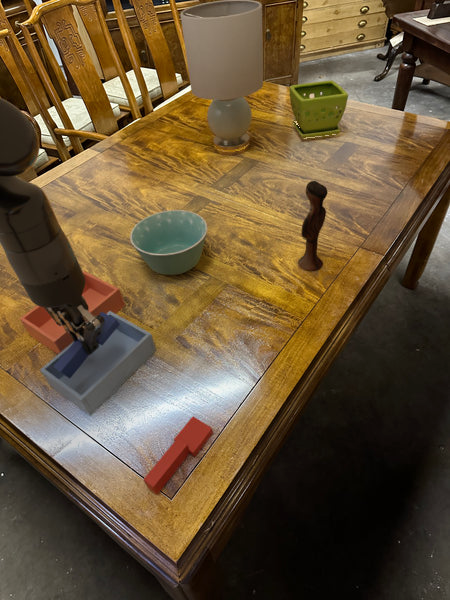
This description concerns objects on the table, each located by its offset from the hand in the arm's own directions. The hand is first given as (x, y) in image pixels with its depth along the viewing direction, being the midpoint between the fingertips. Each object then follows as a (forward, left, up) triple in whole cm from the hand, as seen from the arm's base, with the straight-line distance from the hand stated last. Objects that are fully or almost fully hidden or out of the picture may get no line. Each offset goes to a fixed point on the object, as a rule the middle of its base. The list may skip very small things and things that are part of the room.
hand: (88, 347), depth 66 cm
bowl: (+29, +8, -7) cm, 31 cm away
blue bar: (0, 0, 0) cm, 0 cm away
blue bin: (+1, 0, -7) cm, 7 cm away
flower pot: (+99, +11, -7) cm, 100 cm away
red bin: (+6, +13, -7) cm, 16 cm away
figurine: (+43, -17, -7) cm, 47 cm away
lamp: (+80, +29, -7) cm, 85 cm away
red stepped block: (-4, -21, -7) cm, 22 cm away
